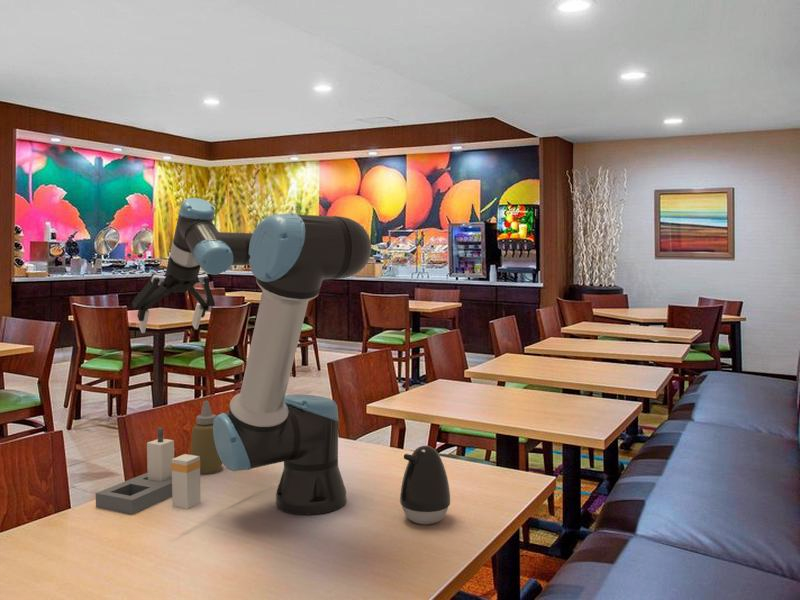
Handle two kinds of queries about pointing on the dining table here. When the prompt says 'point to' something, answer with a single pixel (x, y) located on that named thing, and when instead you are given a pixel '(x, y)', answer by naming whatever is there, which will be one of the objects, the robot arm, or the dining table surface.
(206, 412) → the squeeze bottle
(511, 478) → the dining table surface
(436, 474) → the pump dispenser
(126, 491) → the grey flat block
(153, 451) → the twin plug
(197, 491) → the plug
